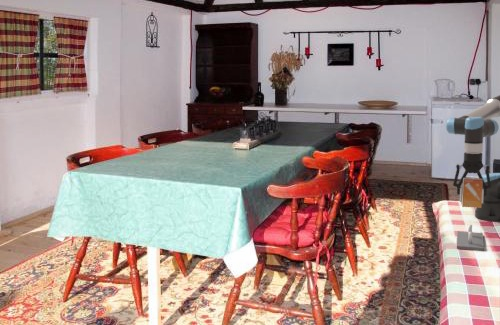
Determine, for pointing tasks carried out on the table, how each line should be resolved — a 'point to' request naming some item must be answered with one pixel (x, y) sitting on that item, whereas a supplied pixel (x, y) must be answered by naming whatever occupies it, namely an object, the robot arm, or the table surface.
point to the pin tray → (474, 241)
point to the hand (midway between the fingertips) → (471, 202)
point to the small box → (471, 192)
